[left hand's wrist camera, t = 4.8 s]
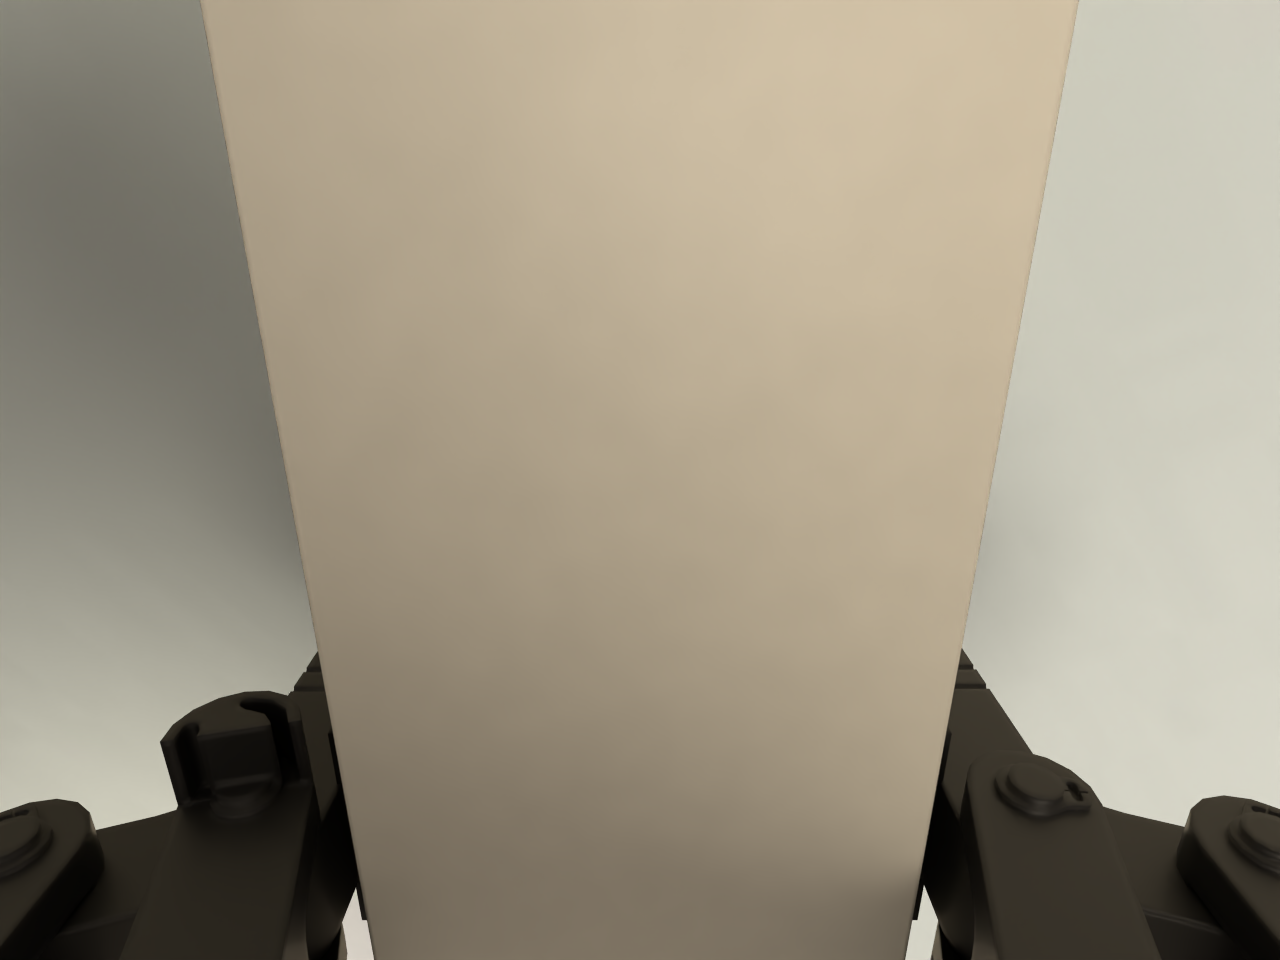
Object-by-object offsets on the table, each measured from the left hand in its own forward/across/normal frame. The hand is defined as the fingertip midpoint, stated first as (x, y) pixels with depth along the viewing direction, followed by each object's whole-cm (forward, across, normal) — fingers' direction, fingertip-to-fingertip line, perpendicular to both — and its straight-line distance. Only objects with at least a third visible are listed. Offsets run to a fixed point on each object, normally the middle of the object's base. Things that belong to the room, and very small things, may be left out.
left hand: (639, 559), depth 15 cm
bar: (+1, 0, -18) cm, 18 cm away
